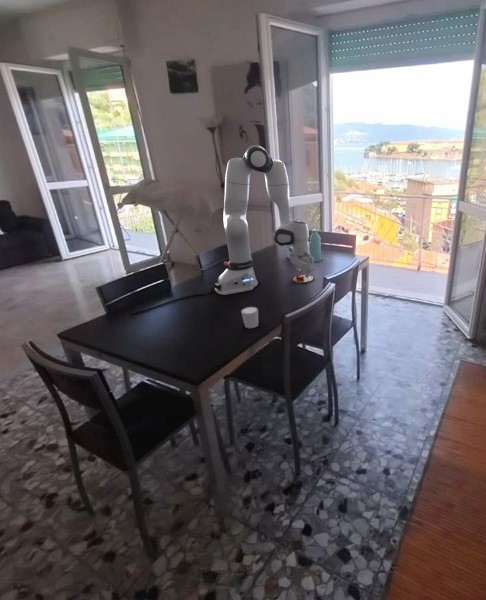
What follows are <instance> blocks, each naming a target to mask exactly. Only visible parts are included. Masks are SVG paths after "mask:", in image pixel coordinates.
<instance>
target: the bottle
mask: <svg viewBox="0 0 486 600" xmlns="http://www.w3.org/2000/svg"><path fill="white" fill-rule="evenodd" d="M311 232H312V233H311V235H310V236H309V237H310V238H309V248H310V255H311V257H312V258H313V260H314V263H315V262H317V263H318V262H321V261H322V247H321V245H322V243H321V237H320V234H319V233H318V229H316V228H313V229H311Z"/></svg>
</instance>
